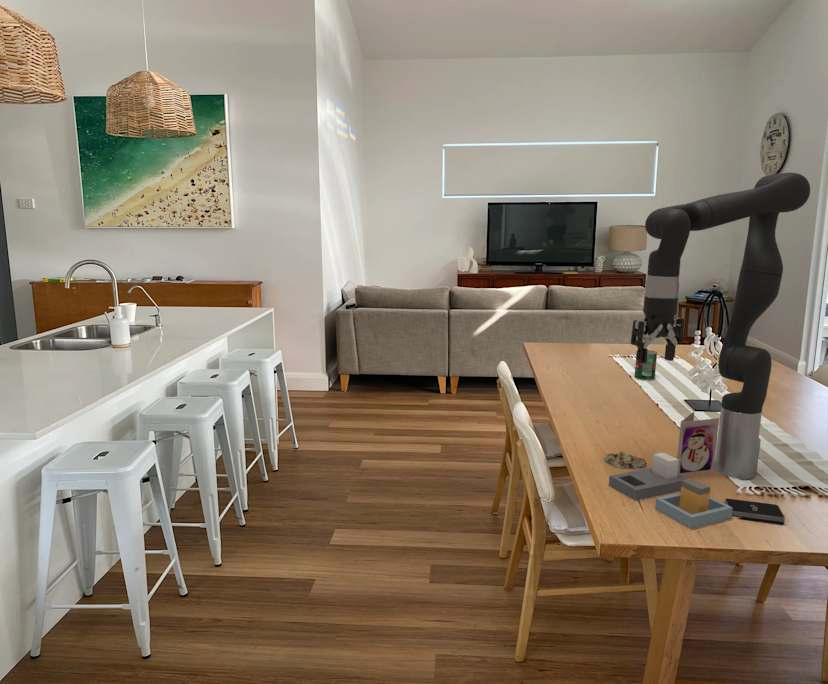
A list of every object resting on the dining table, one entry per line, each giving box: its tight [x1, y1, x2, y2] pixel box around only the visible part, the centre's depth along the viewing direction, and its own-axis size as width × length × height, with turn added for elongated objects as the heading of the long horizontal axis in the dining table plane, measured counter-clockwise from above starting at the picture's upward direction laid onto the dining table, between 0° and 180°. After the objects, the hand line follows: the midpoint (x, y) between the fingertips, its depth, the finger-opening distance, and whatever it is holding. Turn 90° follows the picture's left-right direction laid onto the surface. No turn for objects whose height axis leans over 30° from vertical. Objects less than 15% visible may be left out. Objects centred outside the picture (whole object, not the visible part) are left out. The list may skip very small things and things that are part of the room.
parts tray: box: [654, 492, 733, 531], centre depth 141 cm, size 12×10×3 cm
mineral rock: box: [604, 450, 648, 470], centre depth 169 cm, size 11×4×8 cm
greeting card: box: [676, 411, 720, 477], centre depth 164 cm, size 11×7×15 cm, turn 106°
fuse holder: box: [608, 466, 687, 501], centre depth 155 cm, size 16×9×3 cm, turn 114°
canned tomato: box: [634, 349, 658, 382], centre depth 259 cm, size 8×8×11 cm
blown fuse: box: [679, 478, 711, 515], centre depth 141 cm, size 3×5×7 cm, turn 25°
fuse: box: [652, 452, 679, 480], centre depth 156 cm, size 3×5×7 cm, turn 24°
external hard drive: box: [723, 497, 786, 526], centre depth 142 cm, size 7×11×2 cm, turn 73°
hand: (655, 361), depth 155 cm, fingers open, 8 cm apart
